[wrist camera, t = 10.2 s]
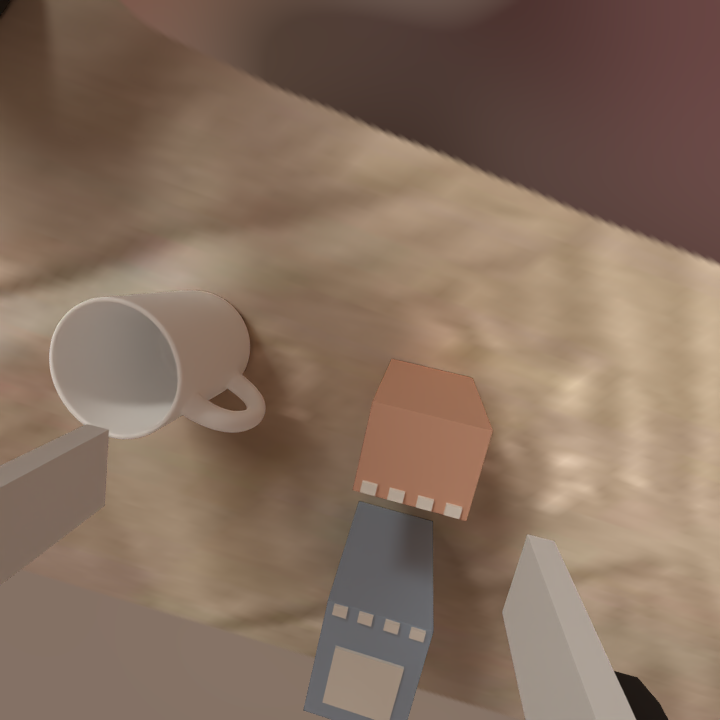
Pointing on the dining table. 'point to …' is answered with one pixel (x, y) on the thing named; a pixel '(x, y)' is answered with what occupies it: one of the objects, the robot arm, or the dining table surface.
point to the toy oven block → (376, 620)
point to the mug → (154, 362)
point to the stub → (424, 440)
